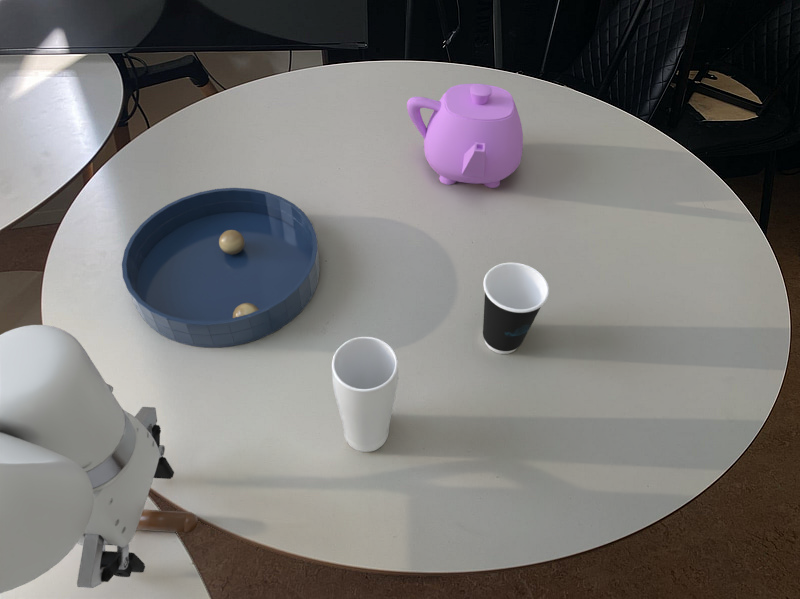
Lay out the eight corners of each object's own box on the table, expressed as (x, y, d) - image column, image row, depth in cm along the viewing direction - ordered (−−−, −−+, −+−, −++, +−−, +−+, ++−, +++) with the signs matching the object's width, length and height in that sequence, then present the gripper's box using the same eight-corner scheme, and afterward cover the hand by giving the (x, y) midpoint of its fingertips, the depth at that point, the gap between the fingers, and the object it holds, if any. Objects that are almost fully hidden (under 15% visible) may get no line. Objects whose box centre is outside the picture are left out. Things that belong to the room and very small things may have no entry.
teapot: (398, 207, 97) (401, 127, 86) (407, 135, 110) (411, 57, 98) (520, 217, 96) (540, 137, 85) (515, 143, 109) (531, 65, 98)
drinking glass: (402, 417, 73) (407, 345, 61) (384, 467, 68) (386, 400, 57) (349, 401, 74) (345, 327, 62) (329, 449, 70) (320, 380, 58)
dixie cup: (515, 374, 77) (532, 321, 69) (461, 345, 80) (471, 292, 71) (540, 333, 82) (560, 279, 73) (489, 307, 84) (501, 252, 76)
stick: (198, 533, 63) (192, 532, 62) (113, 528, 63) (105, 527, 62) (201, 513, 64) (196, 512, 62) (117, 508, 64) (109, 507, 62)
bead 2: (225, 307, 77) (243, 296, 80) (228, 331, 79) (246, 319, 82) (247, 313, 76) (265, 301, 79) (250, 337, 77) (267, 325, 80)
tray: (305, 353, 78) (301, 330, 74) (105, 341, 78) (91, 318, 75) (330, 217, 95) (328, 192, 91) (165, 207, 95) (156, 183, 91)
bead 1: (243, 260, 88) (239, 242, 85) (219, 259, 88) (214, 241, 85) (248, 243, 90) (244, 225, 87) (224, 241, 90) (220, 223, 87)
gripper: (80, 354, 55) (136, 441, 68) (-13, 549, 44) (76, 608, 57) (162, 359, 55) (202, 445, 68) (90, 556, 44) (155, 613, 57)
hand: (145, 519), depth 62 cm, fingers open, 9 cm apart
